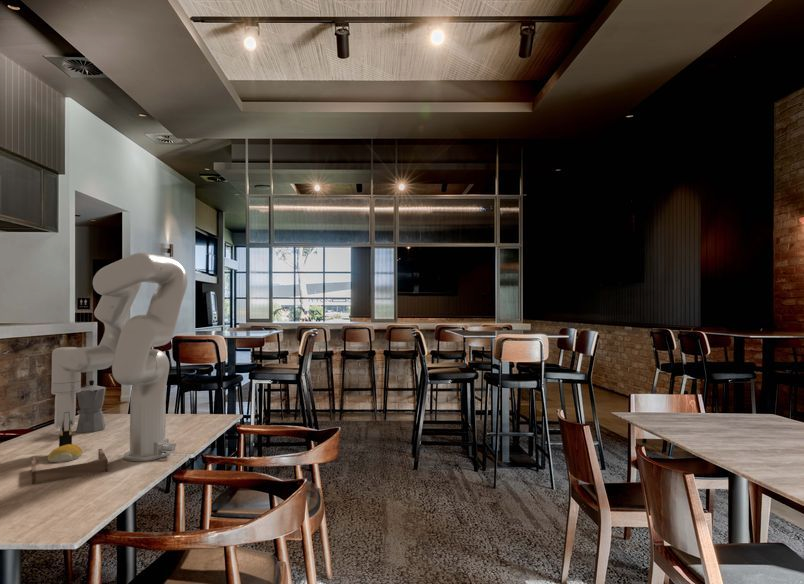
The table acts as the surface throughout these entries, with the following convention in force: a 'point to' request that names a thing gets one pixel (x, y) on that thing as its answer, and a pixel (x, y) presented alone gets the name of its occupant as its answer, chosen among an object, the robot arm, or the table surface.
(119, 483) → the table surface
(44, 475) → the walnut open-ended frame
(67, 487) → the table surface
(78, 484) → the table surface
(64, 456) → the bread roll
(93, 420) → the coffeepot
